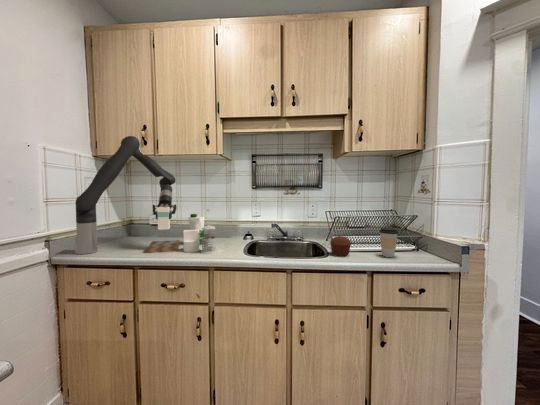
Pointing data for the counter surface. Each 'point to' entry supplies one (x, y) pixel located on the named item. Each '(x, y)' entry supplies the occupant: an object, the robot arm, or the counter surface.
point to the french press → (208, 240)
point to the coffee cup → (388, 241)
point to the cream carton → (163, 218)
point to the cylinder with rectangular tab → (191, 240)
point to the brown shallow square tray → (163, 246)
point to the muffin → (340, 246)
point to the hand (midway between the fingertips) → (163, 218)
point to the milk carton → (197, 225)
